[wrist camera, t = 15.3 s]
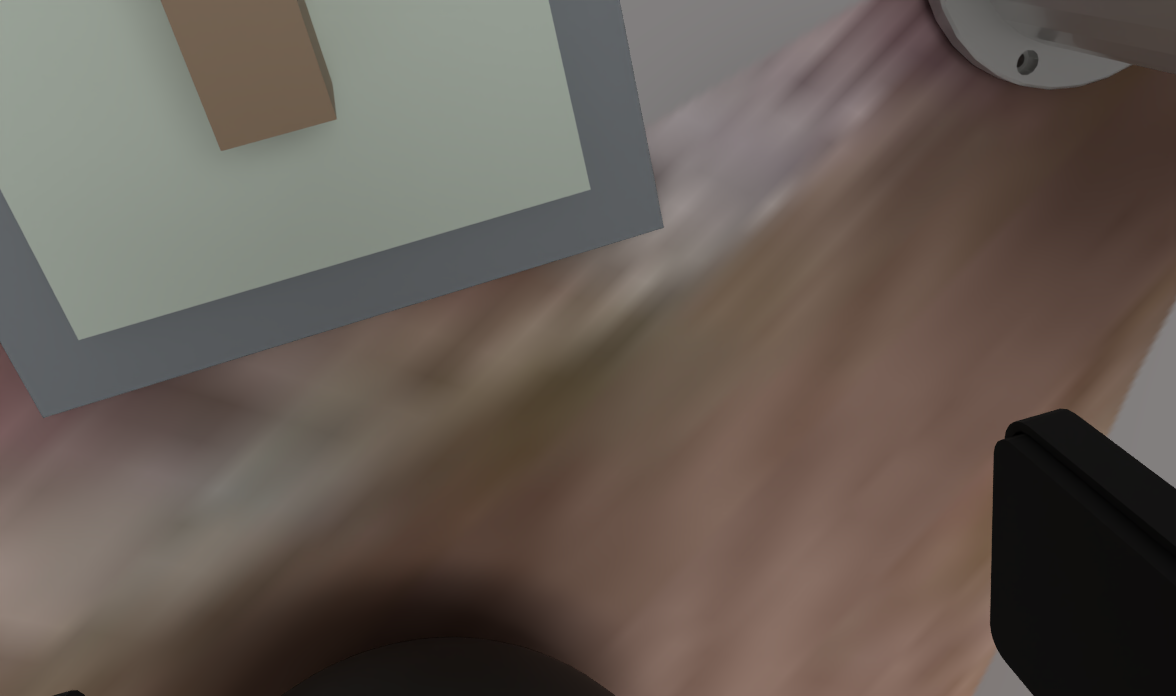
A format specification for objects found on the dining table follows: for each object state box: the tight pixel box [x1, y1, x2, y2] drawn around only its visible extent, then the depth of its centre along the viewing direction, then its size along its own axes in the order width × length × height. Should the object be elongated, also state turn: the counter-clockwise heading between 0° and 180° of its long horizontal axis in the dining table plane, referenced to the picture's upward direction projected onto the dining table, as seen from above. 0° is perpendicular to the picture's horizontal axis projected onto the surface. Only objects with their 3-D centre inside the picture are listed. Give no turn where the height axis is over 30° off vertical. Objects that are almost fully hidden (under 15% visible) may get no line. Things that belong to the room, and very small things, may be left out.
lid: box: [0, 0, 591, 340], centre depth 27 cm, size 17×17×6 cm
